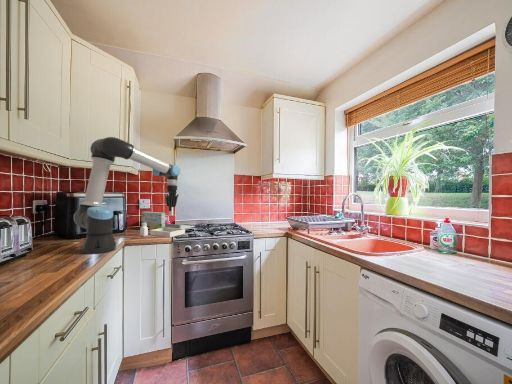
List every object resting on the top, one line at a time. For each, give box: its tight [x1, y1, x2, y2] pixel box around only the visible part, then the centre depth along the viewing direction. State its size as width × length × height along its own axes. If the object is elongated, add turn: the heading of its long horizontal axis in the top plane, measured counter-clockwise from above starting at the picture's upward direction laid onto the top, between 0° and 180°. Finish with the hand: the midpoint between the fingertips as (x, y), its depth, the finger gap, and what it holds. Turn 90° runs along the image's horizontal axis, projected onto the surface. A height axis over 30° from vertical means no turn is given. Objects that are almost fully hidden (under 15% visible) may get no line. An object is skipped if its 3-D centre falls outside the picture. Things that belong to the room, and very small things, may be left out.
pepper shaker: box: [139, 223, 149, 237], centre depth 163 cm, size 4×4×10 cm
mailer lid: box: [162, 223, 196, 230], centre depth 183 cm, size 16×20×3 cm
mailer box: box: [149, 228, 186, 238], centre depth 171 cm, size 16×20×4 cm
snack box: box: [140, 211, 166, 231], centre depth 192 cm, size 21×6×15 cm, turn 73°
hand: (171, 215), depth 174 cm, fingers closed
